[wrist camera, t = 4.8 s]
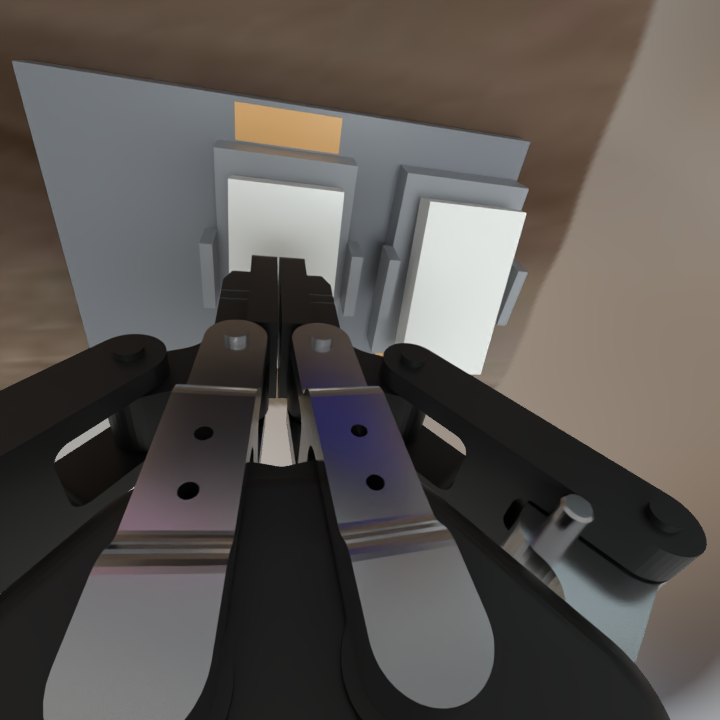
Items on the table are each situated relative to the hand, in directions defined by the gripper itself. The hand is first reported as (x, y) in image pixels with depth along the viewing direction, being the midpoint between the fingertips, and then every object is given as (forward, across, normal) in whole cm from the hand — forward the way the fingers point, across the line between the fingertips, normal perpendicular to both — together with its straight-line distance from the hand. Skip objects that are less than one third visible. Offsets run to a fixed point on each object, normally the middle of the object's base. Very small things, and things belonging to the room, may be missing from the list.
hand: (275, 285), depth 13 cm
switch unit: (+10, -1, +3) cm, 10 cm away
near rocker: (+6, 0, +3) cm, 7 cm away
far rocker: (+6, -8, +3) cm, 11 cm away
